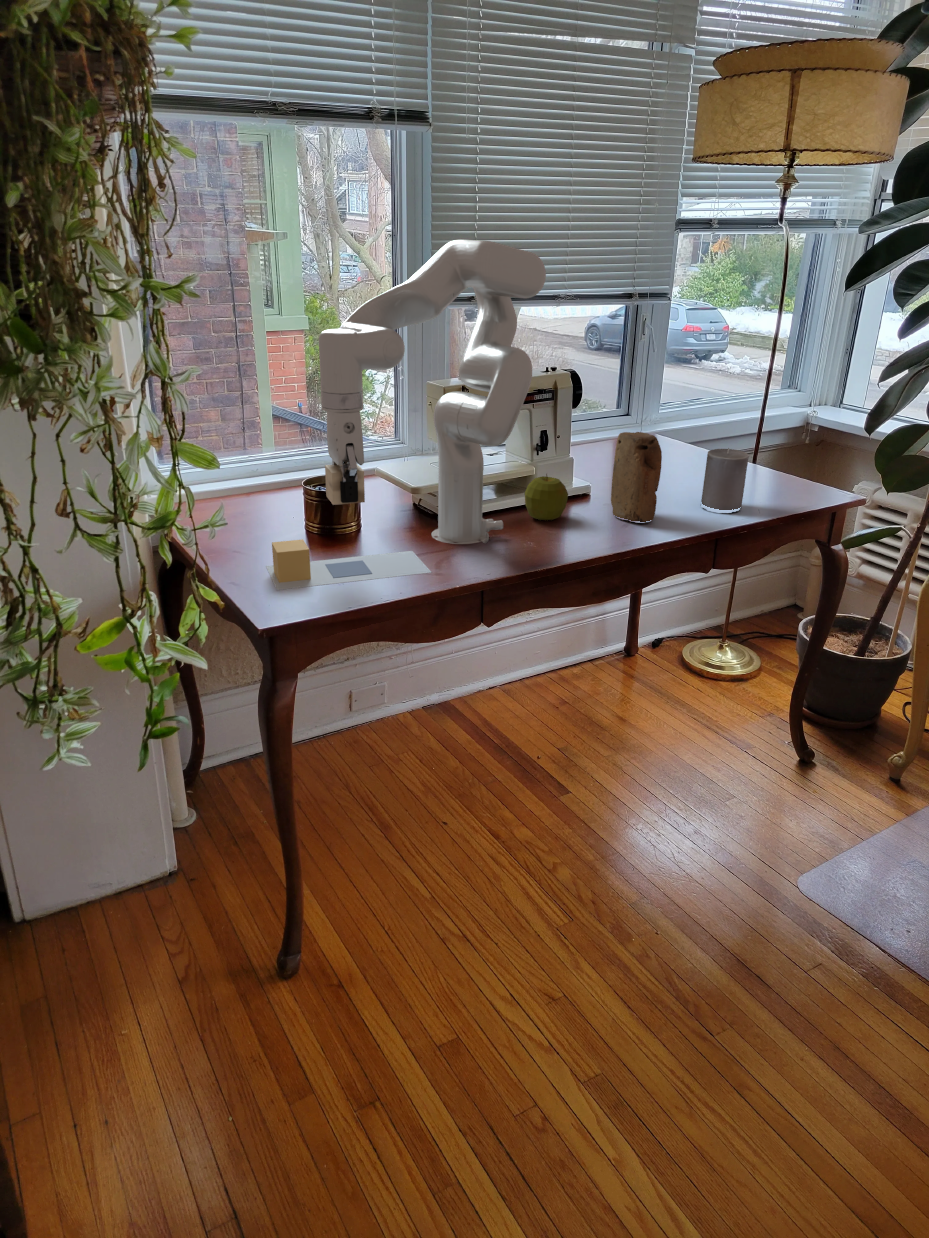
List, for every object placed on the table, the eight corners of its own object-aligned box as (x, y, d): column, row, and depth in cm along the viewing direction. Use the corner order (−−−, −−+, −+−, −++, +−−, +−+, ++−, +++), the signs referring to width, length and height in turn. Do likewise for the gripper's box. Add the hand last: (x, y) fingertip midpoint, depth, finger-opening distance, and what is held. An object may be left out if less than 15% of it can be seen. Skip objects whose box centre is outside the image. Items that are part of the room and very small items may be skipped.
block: (606, 514, 220) (613, 431, 212) (631, 510, 223) (639, 428, 215) (634, 527, 211) (642, 440, 203) (660, 523, 214) (669, 437, 206)
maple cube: (357, 493, 178) (356, 463, 176) (364, 502, 173) (363, 470, 170) (326, 496, 176) (325, 465, 174) (333, 504, 171) (331, 473, 168)
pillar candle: (699, 501, 231) (706, 442, 225) (739, 503, 230) (747, 444, 223) (702, 513, 222) (709, 452, 216) (743, 515, 221) (752, 454, 215)
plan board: (412, 556, 191) (412, 550, 191) (431, 578, 180) (431, 571, 179) (266, 571, 182) (265, 565, 181) (277, 596, 170) (276, 589, 170)
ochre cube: (304, 568, 180) (303, 539, 178) (310, 579, 175) (309, 549, 173) (273, 571, 178) (271, 542, 176) (279, 582, 173) (277, 552, 171)
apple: (529, 526, 211) (531, 479, 206) (519, 513, 219) (521, 468, 215) (571, 524, 212) (574, 478, 208) (559, 512, 221) (562, 467, 216)
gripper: (374, 408, 161) (376, 508, 168) (351, 391, 176) (353, 484, 183) (332, 410, 158) (336, 511, 166) (312, 393, 173) (316, 486, 180)
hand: (345, 496), depth 174 cm, fingers closed on maple cube, 5 cm apart
